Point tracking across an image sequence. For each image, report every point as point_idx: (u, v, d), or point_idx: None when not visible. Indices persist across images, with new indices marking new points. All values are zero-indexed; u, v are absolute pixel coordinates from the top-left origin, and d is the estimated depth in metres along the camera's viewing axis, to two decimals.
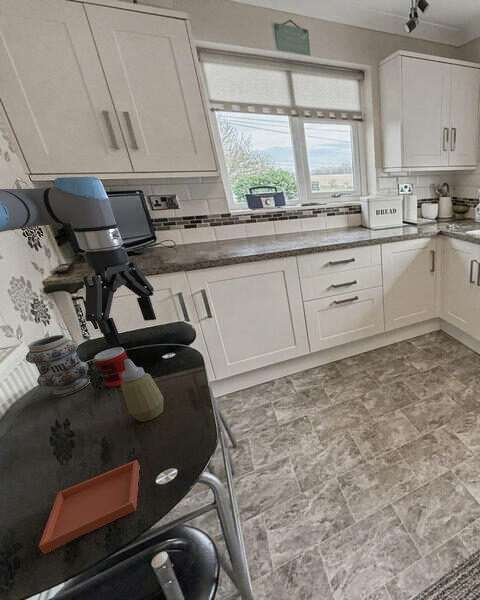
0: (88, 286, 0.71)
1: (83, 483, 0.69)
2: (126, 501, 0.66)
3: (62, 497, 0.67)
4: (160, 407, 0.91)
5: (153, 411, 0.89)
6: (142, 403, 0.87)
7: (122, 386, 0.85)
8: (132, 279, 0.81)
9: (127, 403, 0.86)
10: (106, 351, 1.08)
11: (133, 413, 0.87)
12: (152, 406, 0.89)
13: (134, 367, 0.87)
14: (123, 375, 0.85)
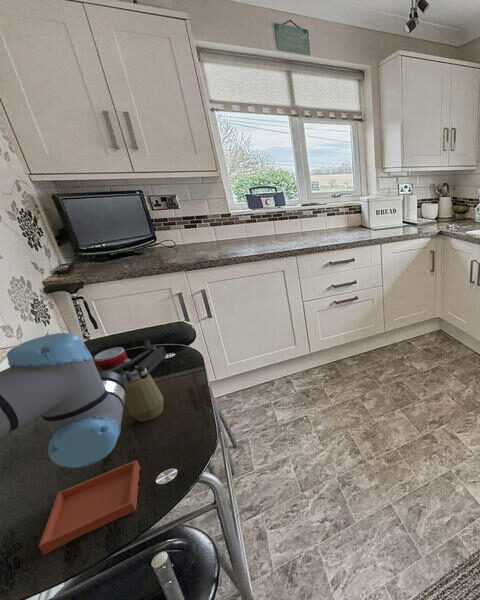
0: None
1: (83, 483, 0.69)
2: (126, 501, 0.66)
3: (62, 497, 0.67)
4: (160, 407, 0.91)
5: (153, 411, 0.89)
6: (142, 403, 0.87)
7: None
8: None
9: (127, 403, 0.86)
10: (106, 351, 1.08)
11: (133, 413, 0.87)
12: (152, 406, 0.89)
13: None
14: None
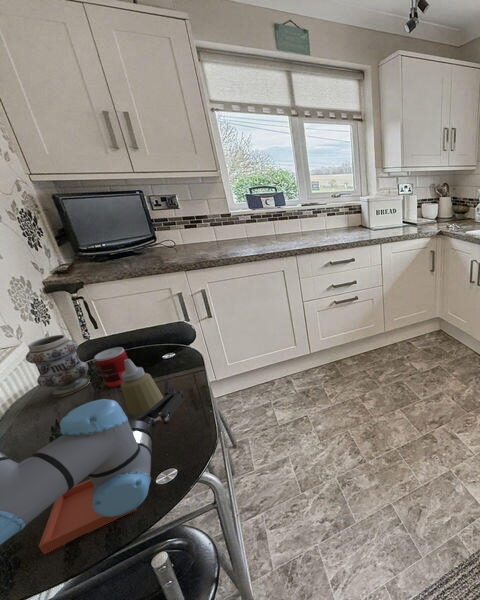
0: None
1: (83, 483, 0.69)
2: None
3: (62, 497, 0.67)
4: None
5: None
6: (142, 403, 0.87)
7: (122, 386, 0.85)
8: None
9: (127, 403, 0.86)
10: (106, 351, 1.08)
11: (133, 413, 0.87)
12: (152, 406, 0.89)
13: (134, 367, 0.87)
14: (123, 375, 0.85)
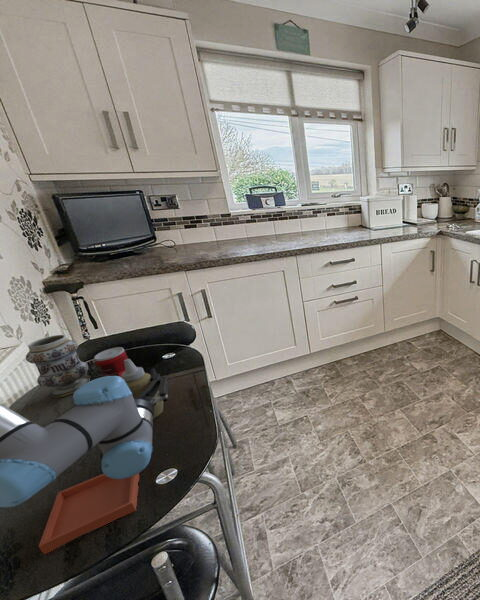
0: None
1: (83, 483, 0.69)
2: (126, 501, 0.66)
3: (62, 497, 0.67)
4: (160, 407, 0.91)
5: None
6: None
7: None
8: None
9: None
10: (106, 351, 1.08)
11: None
12: None
13: (134, 367, 0.87)
14: (123, 375, 0.85)
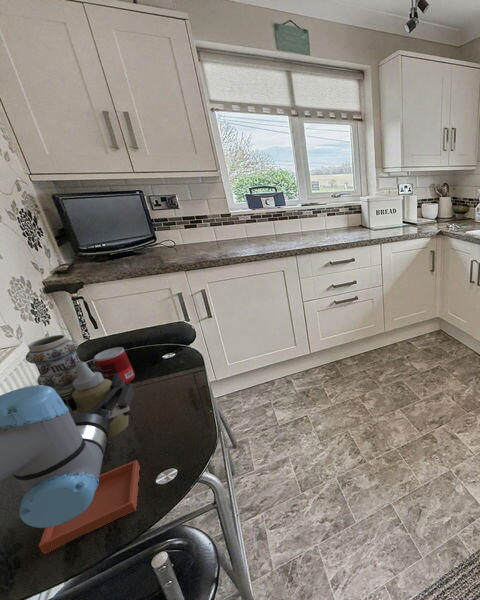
0: None
1: None
2: (126, 501, 0.66)
3: None
4: (124, 421, 0.74)
5: (115, 426, 0.72)
6: None
7: (73, 396, 0.68)
8: None
9: None
10: (106, 351, 1.08)
11: None
12: (113, 420, 0.72)
13: (89, 372, 0.70)
14: (75, 382, 0.68)
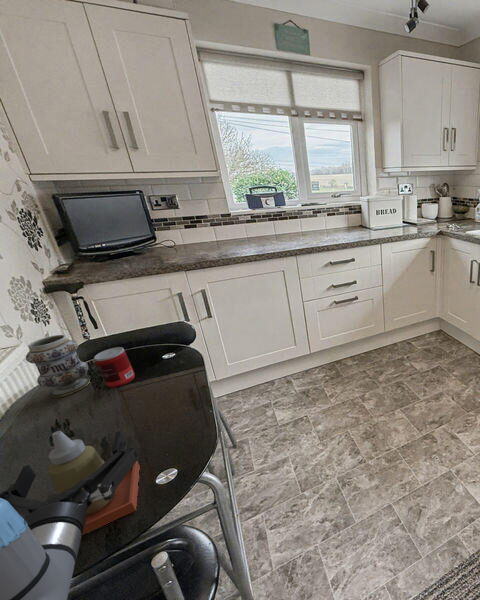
0: None
1: None
2: (126, 501, 0.66)
3: None
4: None
5: (98, 502, 0.63)
6: None
7: (49, 471, 0.59)
8: None
9: None
10: (106, 351, 1.08)
11: None
12: None
13: (68, 442, 0.60)
14: (51, 455, 0.59)
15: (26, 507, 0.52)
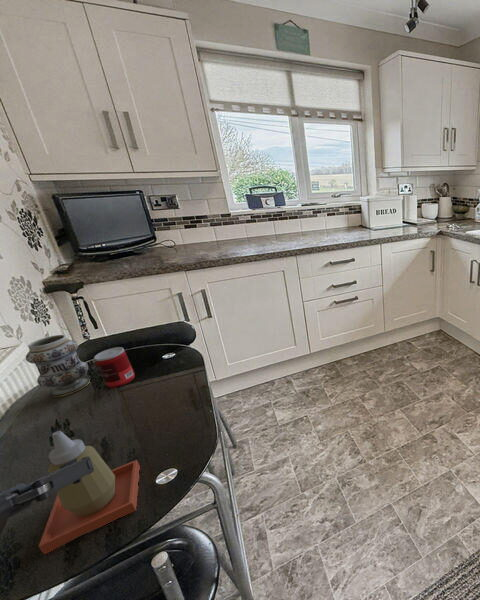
0: None
1: None
2: (126, 501, 0.66)
3: None
4: (109, 493, 0.65)
5: (98, 502, 0.63)
6: (80, 494, 0.61)
7: (49, 471, 0.59)
8: (19, 511, 0.44)
9: (58, 494, 0.60)
10: (106, 351, 1.08)
11: (67, 508, 0.61)
12: (96, 495, 0.62)
13: (68, 442, 0.60)
14: (51, 455, 0.59)
15: None
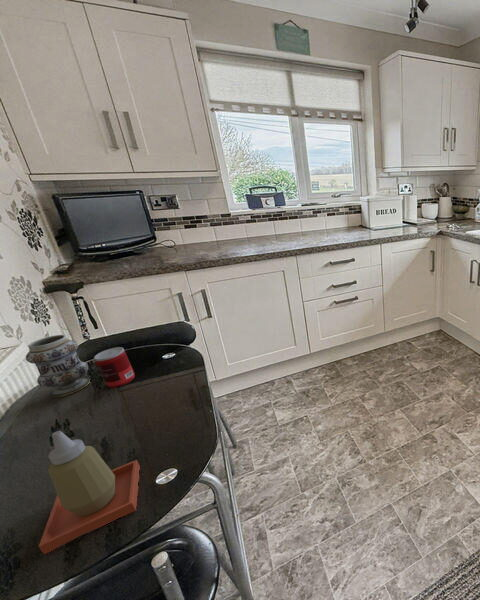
0: None
1: None
2: (126, 501, 0.66)
3: None
4: (109, 493, 0.65)
5: (98, 502, 0.63)
6: (80, 494, 0.61)
7: (49, 471, 0.59)
8: None
9: (58, 494, 0.60)
10: (106, 351, 1.08)
11: (67, 508, 0.61)
12: (96, 495, 0.62)
13: (68, 442, 0.60)
14: (51, 455, 0.59)
15: None
